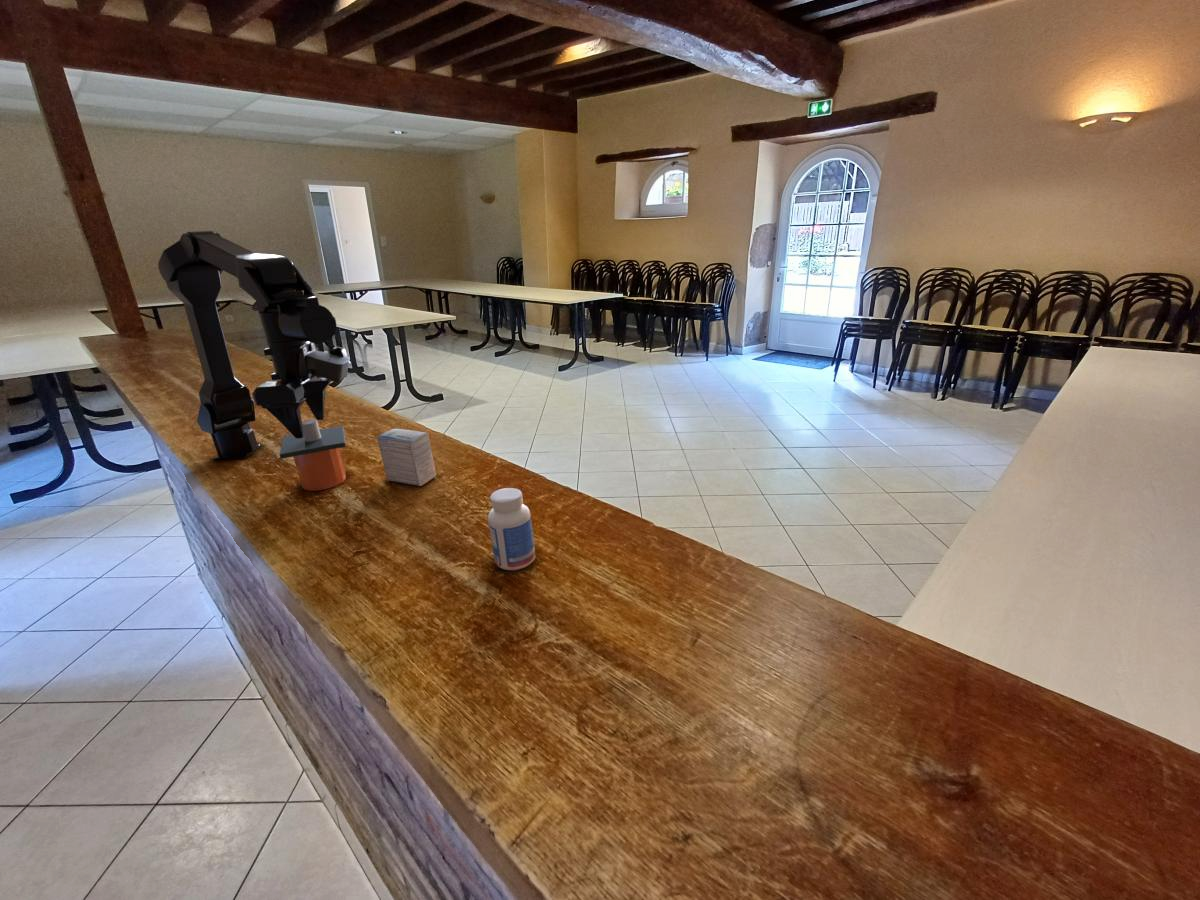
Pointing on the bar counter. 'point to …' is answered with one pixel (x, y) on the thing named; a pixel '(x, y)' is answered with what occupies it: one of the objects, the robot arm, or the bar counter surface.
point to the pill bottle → (511, 530)
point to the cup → (320, 469)
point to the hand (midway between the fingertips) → (310, 428)
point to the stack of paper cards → (407, 456)
